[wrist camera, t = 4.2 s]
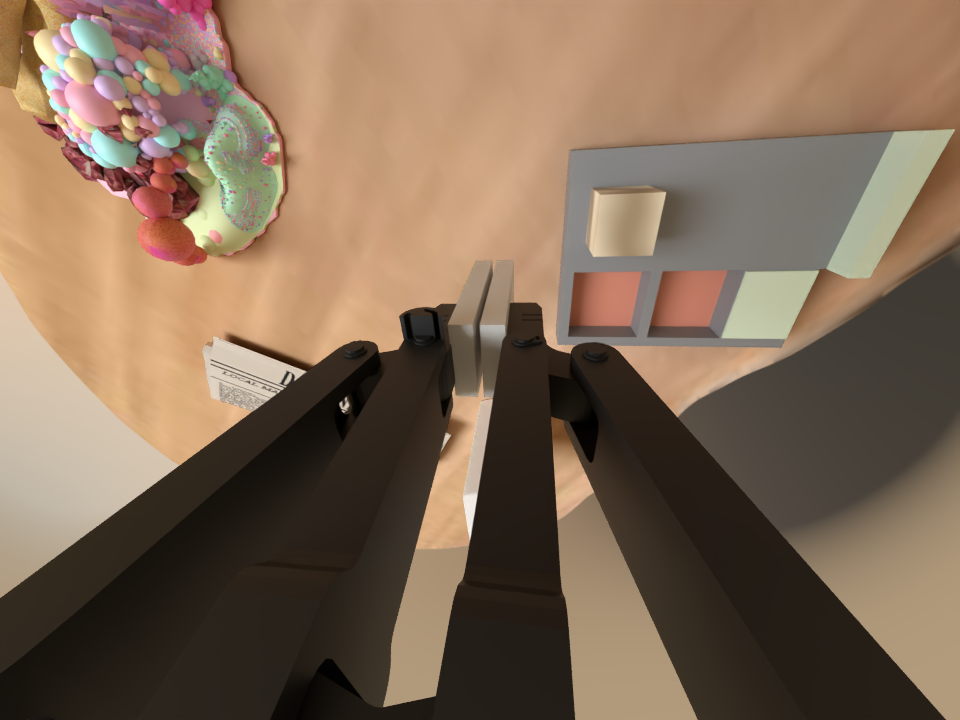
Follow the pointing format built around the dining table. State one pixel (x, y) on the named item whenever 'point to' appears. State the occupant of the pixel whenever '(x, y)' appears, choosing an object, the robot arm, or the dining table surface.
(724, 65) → the dining table surface
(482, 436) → the milk carton
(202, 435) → the dining table surface
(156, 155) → the pastel sphere sculpture
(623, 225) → the block
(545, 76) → the dining table surface
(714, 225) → the grey compartment tray
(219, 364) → the newspaper
